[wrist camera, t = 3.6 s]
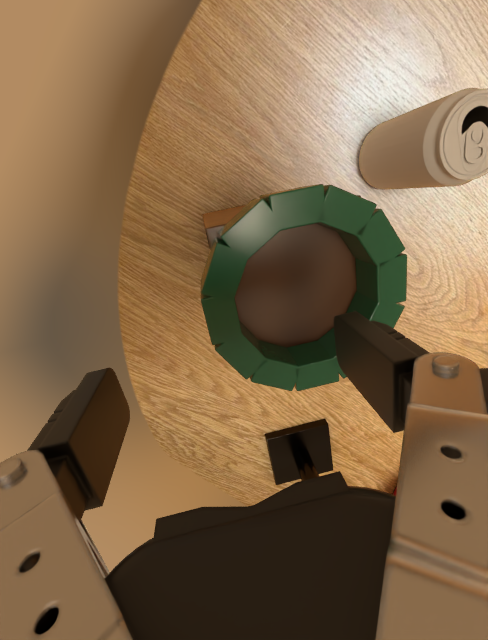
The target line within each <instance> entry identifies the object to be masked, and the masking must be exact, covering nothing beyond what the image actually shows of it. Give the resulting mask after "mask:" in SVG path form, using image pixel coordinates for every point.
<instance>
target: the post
mask: <svg viewBox="0 0 488 640" xmlns="http://www.w3.org/2000/svg"><path fill="white" fill-rule="evenodd" d="M265 437H266V442H267V446H268V451H269V456H270V461H271V465H272V470H273V475H274V479H275V483H276V485H278V484H282V483H286V482H290V481H294V480H297V479H301V480H302V481H305V480H308V479H312V478H316V477H319V475H318V474H320V473H324V472H328V471H332V470H333V464H332V455H331V445H330V436H329V427H328V423H327V421H326V420H325V419H323V420H319V421H315V422H311V423H307V424H303V425H299V426H295V427H291V428H287V429H283V430H279V431H275V432H271V433H267V434H265Z"/></svg>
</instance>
